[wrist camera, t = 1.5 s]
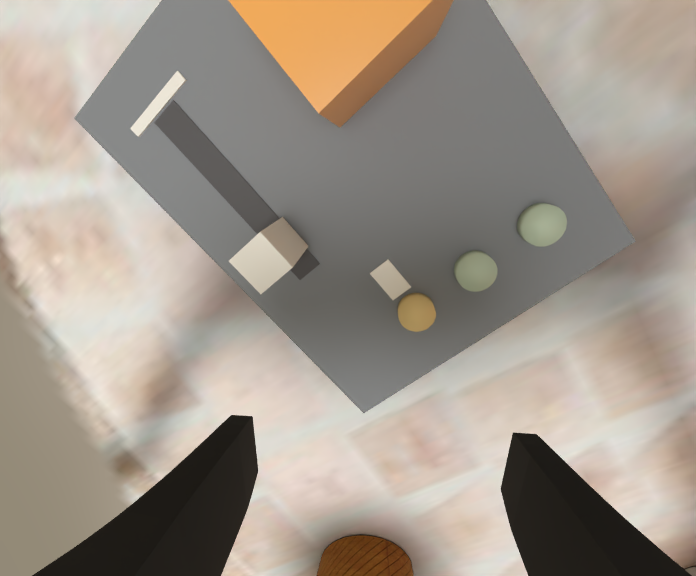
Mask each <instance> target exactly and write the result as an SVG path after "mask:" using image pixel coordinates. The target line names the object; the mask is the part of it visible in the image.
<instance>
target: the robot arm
mask: <svg viewBox="0 0 696 576" xmlns="http://www.w3.org/2000/svg"><path fill="white" fill-rule="evenodd" d="M257 473H258V464H257V455H256V445H255V436H254V427H253V417H252V416H238V415H231V416H230V417H229V418H228V419H227V420H226V421H225V422H223V423H222V424H221V425H220V426H219V427H218V428H217V429H216V430H215V431H214V432H213V433H212V434H211V435H210V436H209V437H208V438H207V439H205V440H204V441H203V442H202V443H201V444H200V445H199V446H198V447H197V448H196V449H195V450H194V451H193V452H192V453H191V454H189V455H188V456H187V457H186V458H185V459H184V460H183V461H182V462H181V463H180V464H178V465H177V466H176V467H175V468H174V469H173V470H172V471H171V472H170V473H168V474H167V475H166V476H165V477H164V478H163V479H162V480H160V481H159V482H158V483H157V484H156V485H155V486H153V487H152V488H151V489H150V490H149V491H147V492H146V493H145V494H144V495H143V496H141V497H140V498H139V499H138V500H137V501H135V502H134V503H133V504H132V505H131V506H129V507H128V508H127V509H126V510H124V511H123V512H122V513H120V514H119V515H118V516H117V517H115V518H114V519H113V520H112V521H110V522H109V523H108V524H106V525H105V526H104V527H102V528H101V529H99V530H98V531H97V532H95V533H94V534H93V535H91V536H90V537H89V538H87V539H86V540H84V541H83V542H82V543H80V544H79V545H77V546H76V547H74V548H73V549H72V550H70V551H69V552H67V553H66V554H64V555H63V556H61V557H60V558H58V559H57V560H56V561H54V562H52V563H51V564H49V565H48V566H46V567H45V568H43V569H42V570H40V571H39V572H37V573H36V574H34V575H33V576H221V574H222V572H223V569H224V567H225V564H226V562H227V559H228V557H229V554H230V552H231V549H232V547H233V544H234V542H235V539H236V537H237V534H238V532H239V529H240V527H241V524H242V522H243V519H244V517H245V514H246V512H247V509H248V506H249V502H250V499H251V495H252V492H253V488H254V485H255V481H256V477H257ZM501 492H502V496H503V500H504V504H505V508H506V512H507V516H508V519H509V523H510V527H511V530H512V533H513V536H514V539H515V541H516V544H517V547H518V549H519V552H520V555H521V557H522V560H523V563H524V565H525V568H526V571H527V573H528V576H692V575H691V574H689V573H688V572H687V571H686V570H684V569H683V568H682V567H681V566H679V565H678V564H677V563H676V562H675V561H673V560H672V559H671V558H670V557H669V556H667V555H666V554H665V553H664V552H663V551H662V550H660V549H659V548H658V547H657V546H656V545H655V544H653V543H652V542H651V541H650V540H649V539H648V538H647V537H645V536H644V535H643V534H642V533H641V532H640V531H638V530H637V529H636V528H635V527H634V526H633V525H632V524H630V523H629V522H628V521H627V520H626V519H625V518H624V517H623V516H622V515H621V514H619V513H618V512H617V511H616V510H615V509H614V508H613V507H612V506H611V505H610V504H609V503H607V502H606V501H605V500H604V499H603V498H602V497H601V496H600V495H599V494H598V493H597V492H596V491H595V490H594V489H593V488H592V487H590V486H589V485H588V484H587V483H586V482H585V481H584V480H583V479H582V478H581V477H580V476H579V475H578V474H577V473H576V472H575V471H574V470H573V469H572V468H571V467H570V466H569V465H568V464H567V463H566V462H565V461H564V460H563V459H562V458H561V457H560V456H559V455H558V454H556V453H555V452H554V451H553V450H552V449H551V448H550V447H549V446H548V445H547V444H546V443H545V442H544V441H543V440H542V439H541V438H540V437H539V436H538V435H537V434H525V433H513V435H512V440H511V444H510V449H509V453H508V458H507V463H506V467H505V472H504V476H503V481H502V485H501Z"/></svg>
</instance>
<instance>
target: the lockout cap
mask: <svg viewBox="0 0 696 576" xmlns="http://www.w3.org/2000/svg"><path fill="white" fill-rule="evenodd" d="M228 1H229V2H230V3H231V4H232V6H233V7H234V8H235V9H236V11H237V12H238V13H239V14H240V16H241V17H242V18H243V19H244V21H245V22H246V23H247V24H248V26H249V27H250V28H251V29H252V31H253V32H254V33H255V34H256V36H257V37H258V38H259V39H260V41H261V42H262V43H263V44H264V46H265V47H266V48H267V49H268V51H269V52H270V53H271V54H272V56H273V57H274V58H275V60H276V61H277V62H278V63H279V65H280V66H281V67H282V68H283V70H284V71H285V72H286V73H287V75H288V76H289V77H290V78H291V80H292V81H293V82H294V83H295V85H296V86H297V87H298V88H299V90H300V91H301V92H302V93H303V95H304V96H305V97H306V98H307V100H308V101H309V102H310V103H311V105H312V106H313V107H314V108H315V110H316V111H317V112H318V113H319V114H320V115H322V116H323V117H325V118H326V119H328V120H329V121H331V122H332V123H334V124H335V125H337V126H338V127H341V126H342V125H343V124H344V123H345V122H346V121H348V120H349V119H350V118H351V117H352V116H353V115H354V114H355V113H356V112H357V111H358V110H359V109H360V108H361V107H362V106H363V105H364V104H365V103H366V102H367V101H368V100H370V99H371V98H372V97H373V96H374V95H375V94H376V93H377V92H378V91H379V90H380V89H381V88H382V87H383V86H384V85H385V84H386V83H387V82H388V81H389V80H390V79H392V78H393V77H394V76H395V75H396V74H397V73H398V72H399V71H400V70H401V69H402V68H403V67H404V66H405V65H406V64H407V63H408V62H409V61H410V60H411V59H412V58H414V57H415V56H416V55H417V54H418V53H419V52H420V51H421V50H422V49H423V48H424V47H425V46H426V45H427V44H428V43H429V42H430V41H431V40H432V39H433V38H434V37H436V35H437V33H438V31H439V29H440V27H441V25H442V23H443V21H444V19H445V17H446V15H447V13H448V11H449V9H450V7H451V5H452V3H453V1H454V0H228Z"/></svg>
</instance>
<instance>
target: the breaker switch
mask: <svg viewBox="0 0 696 576" xmlns="http://www.w3.org/2000/svg"><path fill="white" fill-rule="evenodd" d="M307 248H308V245H307V244H306V243H305V241H304V240H303V239H302V238H301V237H300V236H299V235H298V234H297V233H296V231H295V230H294V229H293V228H292V227H291V226H290V225H289V224H288V222H287V221H286V220H285V219H284V218H283V217H282V218H280V219H279V220H277V221H276V222H274V223H273V224H271V225H270V226H268V227H267V228H265V229H264V230H262V231H261V232H259V233H258V234H257V235H256V236H255V237H254V238H253V239H252V240H251V241H250V242H249V243H247V244H246V245H245V246H244V247H243V248H242V249H241V250H240V251H239V252H238V253H237V254H236V255H234V256H233V257H232V258H231V259H230V260H229V262H230V263H231V264H232V265H233V266H234V267H235V268H236V269H237V270H238V272H239V273H240V274H241V275H242V276H243V277H244V278H245V279H246V280H247V281H248V282H249V283H250V284H251V285H252V286H253V287H254V288H255V289H256V290H257V291H258V292H259V293H260V294H262V293H263V292H264V291H266V290H267V289H268V288H269V287H270V286H271V285H273V284H274V283H275V282H276V281H277V280H279V279H280V278H281V277H282V276H283V275H284V274H286V273H287V272H288V271H289V270H290V269H291V268H293V266H294V265H295V264H296V262H297V261H298V260H299V258H300V257H301V256H302V254H303V253H304V252H305V250H306V249H307Z"/></svg>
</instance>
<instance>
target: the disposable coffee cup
mask: <svg viewBox="0 0 696 576" xmlns="http://www.w3.org/2000/svg"><path fill="white" fill-rule="evenodd" d="M317 576H413V570H412V564H411V561H410V559H409V557H408V556H407V554H406V553H405V552H404V551H403V550H402V549H401V548H400V547H398V546H397V545H395V544H393V543H392V542H390V541H387V540H384V539H382V538H378V537H374V536H365V535H358V536H350V537H345V538H342V539H340V540H337V541H335V542H333V543H332V544H330V545H329V546H328V547H327V548H326V549H325V551H324V552H323V554H322V557H321V561H320V565H319V569H318V573H317Z"/></svg>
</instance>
